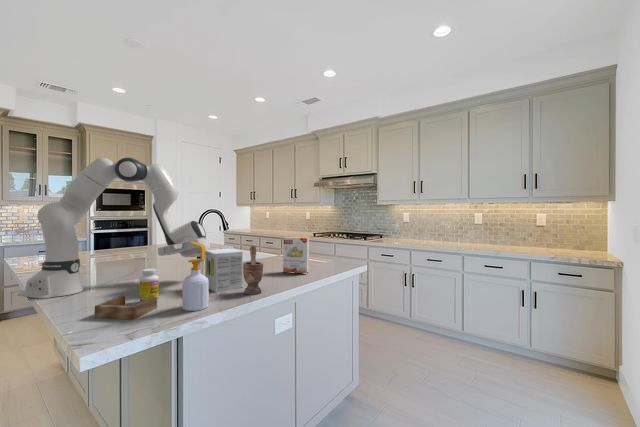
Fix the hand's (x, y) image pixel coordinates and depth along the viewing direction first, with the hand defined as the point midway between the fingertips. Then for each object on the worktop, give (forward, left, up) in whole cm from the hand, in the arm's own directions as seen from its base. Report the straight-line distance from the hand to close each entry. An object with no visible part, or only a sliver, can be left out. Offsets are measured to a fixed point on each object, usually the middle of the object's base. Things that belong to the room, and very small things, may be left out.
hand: (171, 247), depth 134 cm
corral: (-2, -24, -20) cm, 32 cm away
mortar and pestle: (+33, +8, -20) cm, 40 cm away
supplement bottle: (-2, -12, -20) cm, 24 cm away
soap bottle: (+19, -16, -20) cm, 32 cm away
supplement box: (+18, +14, -21) cm, 30 cm away
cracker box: (+46, +50, -20) cm, 71 cm away
